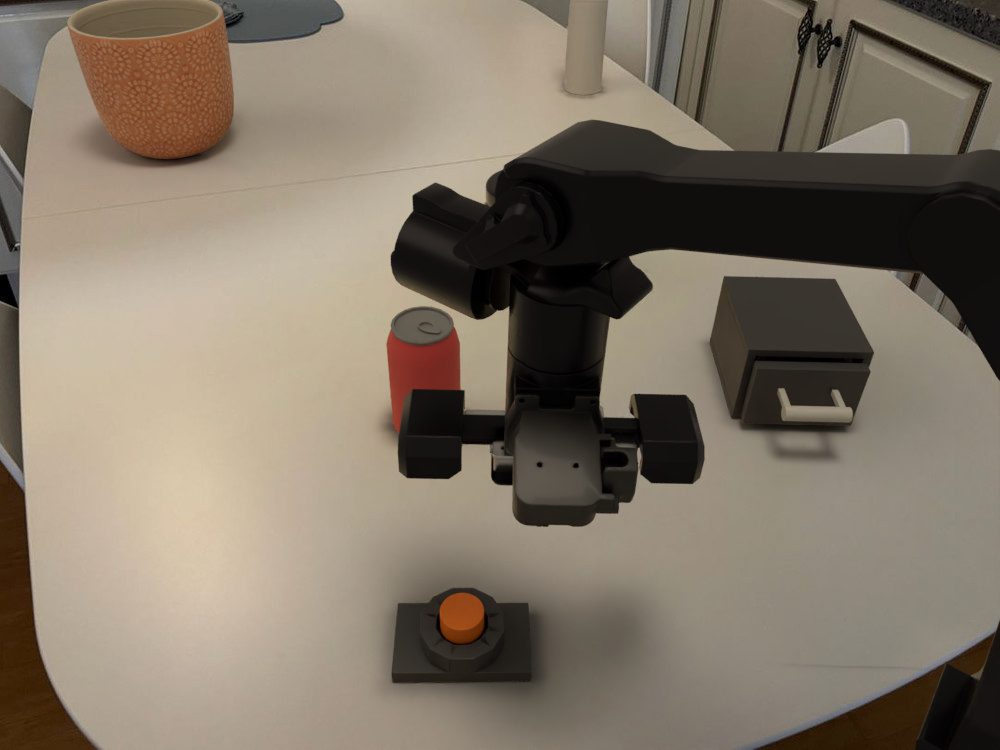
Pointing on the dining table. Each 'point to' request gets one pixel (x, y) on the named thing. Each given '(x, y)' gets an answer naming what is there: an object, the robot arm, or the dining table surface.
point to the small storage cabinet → (780, 327)
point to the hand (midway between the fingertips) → (541, 522)
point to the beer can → (421, 354)
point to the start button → (462, 618)
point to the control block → (482, 660)
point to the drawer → (804, 391)
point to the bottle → (585, 46)
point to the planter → (157, 73)
